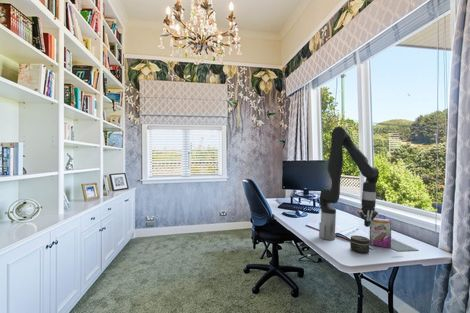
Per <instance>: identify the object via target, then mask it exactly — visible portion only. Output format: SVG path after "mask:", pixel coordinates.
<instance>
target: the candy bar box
mask: <svg viewBox="0 0 470 313" xmlns="http://www.w3.org/2000/svg"><path fill="white" fill-rule="evenodd" d="M378 218H379V217H378ZM378 218H377V217H375V218H374V219H373V220H371V221H370V226H369V238H368V239H369V240H370V244H372V245H371V246H373V245H378V246H377V247H382V248H388V249H391V239H392V225H391V221H392V220H391V219H390V220H391V221H390V220H388V219H389V218H385V219H378Z"/></svg>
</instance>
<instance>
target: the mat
mask: <svg viewBox="0 0 470 313" xmlns="http://www.w3.org/2000/svg"><path fill="white" fill-rule="evenodd" d="M390 249H391V250H393V251H396V252H398V253H399V252H419V249H417V248H415V247H413V246H410V245H408V244H406V243H403V242H401V241H399V240H396V239H394V238H393V239H392V238H391V248H390Z"/></svg>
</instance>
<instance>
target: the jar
mask: <svg viewBox="0 0 470 313" xmlns="http://www.w3.org/2000/svg"><path fill="white" fill-rule="evenodd" d="M369 239H370V238H368V237H365V236H364V235H363V236H362V235H356V234H355V235H351V236H350V240H349V241H350V244H349V245H350V247H349V248H350V250H351V251H352V252H354V253H355V254H356V253H357V254H361V255H367V254H368V253H369V252H370V246H371V245H370V240H369Z"/></svg>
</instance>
